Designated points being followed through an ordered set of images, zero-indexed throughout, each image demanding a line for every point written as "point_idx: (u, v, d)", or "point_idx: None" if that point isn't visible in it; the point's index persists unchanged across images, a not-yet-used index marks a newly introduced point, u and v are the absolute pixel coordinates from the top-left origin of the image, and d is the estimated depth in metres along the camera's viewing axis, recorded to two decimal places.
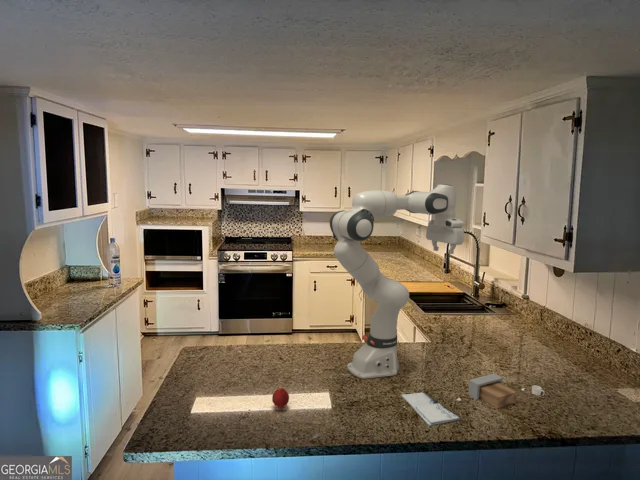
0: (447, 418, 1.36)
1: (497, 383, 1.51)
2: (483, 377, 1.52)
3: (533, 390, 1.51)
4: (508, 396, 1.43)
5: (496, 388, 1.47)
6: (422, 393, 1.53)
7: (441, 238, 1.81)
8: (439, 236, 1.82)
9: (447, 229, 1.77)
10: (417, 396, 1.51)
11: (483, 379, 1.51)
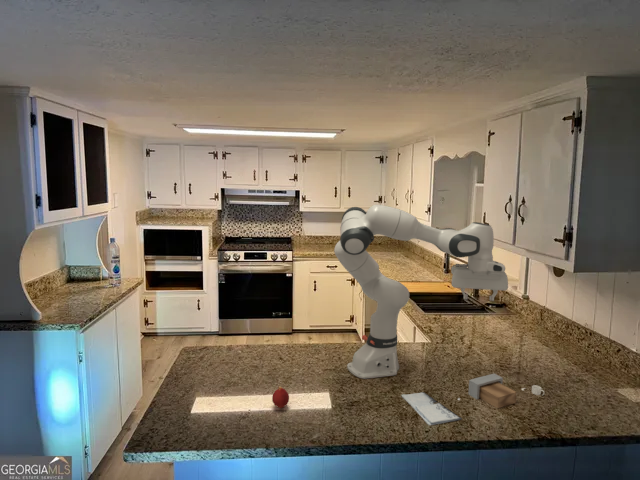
0: (447, 418, 1.36)
1: (497, 383, 1.51)
2: (483, 377, 1.52)
3: (533, 390, 1.52)
4: (508, 396, 1.43)
5: (496, 388, 1.47)
6: (422, 393, 1.53)
7: (481, 285, 1.56)
8: (477, 282, 1.57)
9: (492, 274, 1.54)
10: (417, 396, 1.51)
11: (483, 379, 1.51)
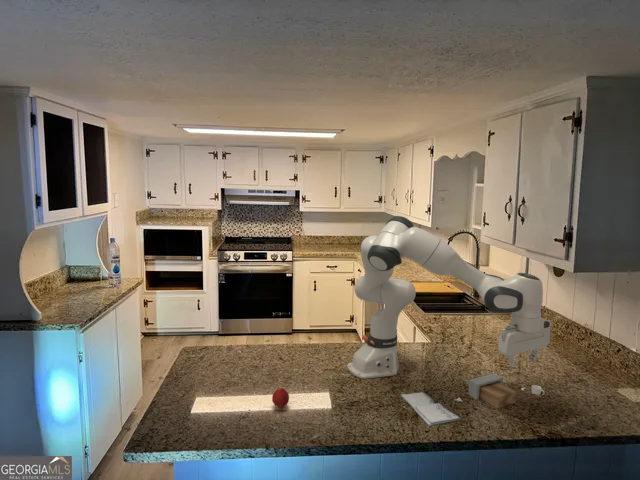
0: (447, 418, 1.36)
1: (497, 383, 1.51)
2: (483, 377, 1.52)
3: (533, 390, 1.52)
4: (508, 396, 1.43)
5: (496, 388, 1.47)
6: (422, 393, 1.53)
7: (530, 346, 1.34)
8: (527, 344, 1.34)
9: (540, 332, 1.35)
10: (417, 396, 1.51)
11: (483, 379, 1.51)
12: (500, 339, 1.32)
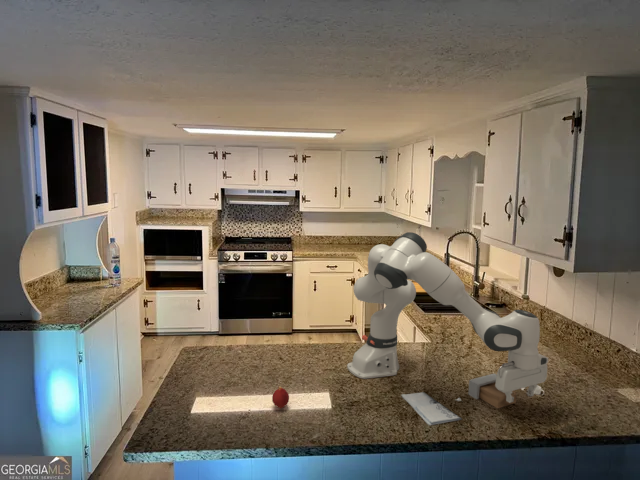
0: (447, 418, 1.36)
1: None
2: (483, 377, 1.52)
3: None
4: None
5: (496, 388, 1.47)
6: (422, 393, 1.53)
7: (527, 382, 1.35)
8: (524, 381, 1.35)
9: (537, 368, 1.36)
10: (417, 396, 1.51)
11: (483, 379, 1.51)
12: (497, 376, 1.33)
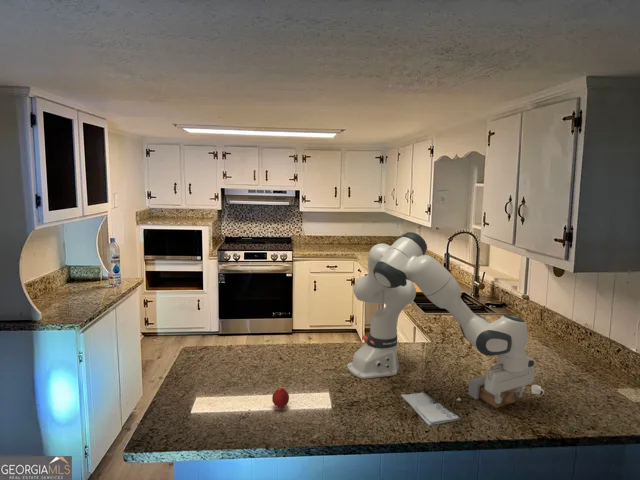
0: (447, 418, 1.36)
1: None
2: (483, 377, 1.52)
3: (533, 389, 1.52)
4: (507, 395, 1.44)
5: None
6: (422, 393, 1.53)
7: (515, 384, 1.41)
8: (512, 382, 1.40)
9: (525, 370, 1.41)
10: (417, 396, 1.51)
11: (483, 379, 1.51)
12: (486, 378, 1.38)
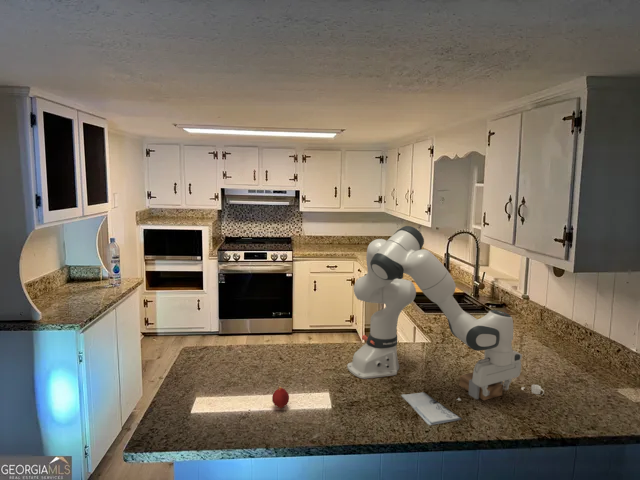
0: (447, 418, 1.36)
1: None
2: None
3: (533, 389, 1.52)
4: (494, 388, 1.48)
5: None
6: (422, 393, 1.53)
7: (502, 377, 1.45)
8: (499, 376, 1.45)
9: (511, 364, 1.46)
10: (417, 396, 1.51)
11: None
12: (474, 371, 1.43)
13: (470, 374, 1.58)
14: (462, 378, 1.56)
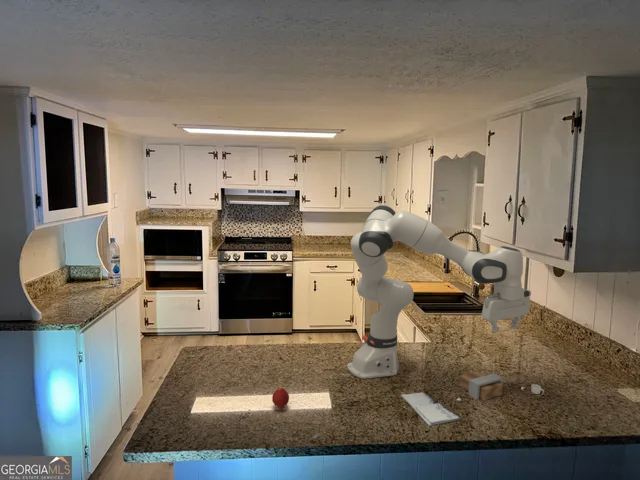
0: (447, 418, 1.36)
1: None
2: (483, 377, 1.52)
3: (532, 389, 1.52)
4: (494, 388, 1.48)
5: None
6: (422, 393, 1.53)
7: (511, 313, 1.46)
8: (508, 312, 1.45)
9: (521, 300, 1.46)
10: (417, 396, 1.51)
11: (483, 379, 1.51)
12: (484, 306, 1.44)
13: (470, 374, 1.58)
14: (462, 378, 1.56)
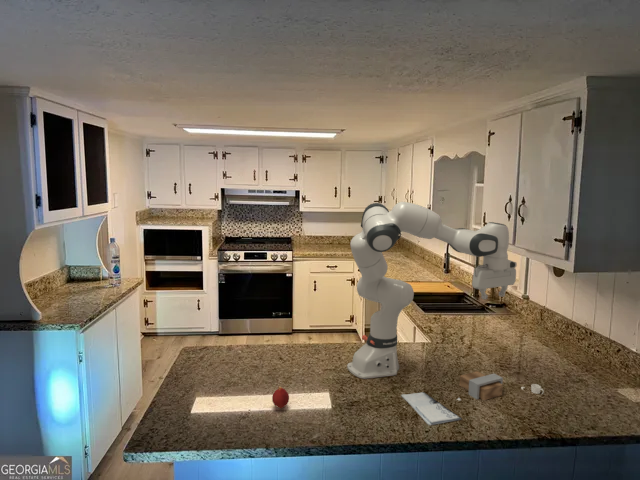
0: (447, 418, 1.36)
1: None
2: (483, 377, 1.52)
3: (532, 389, 1.52)
4: (494, 388, 1.48)
5: None
6: (422, 393, 1.53)
7: (499, 283, 1.62)
8: (496, 281, 1.61)
9: (507, 271, 1.62)
10: (417, 396, 1.51)
11: (483, 379, 1.51)
12: (474, 276, 1.59)
13: (470, 374, 1.58)
14: (462, 378, 1.56)
